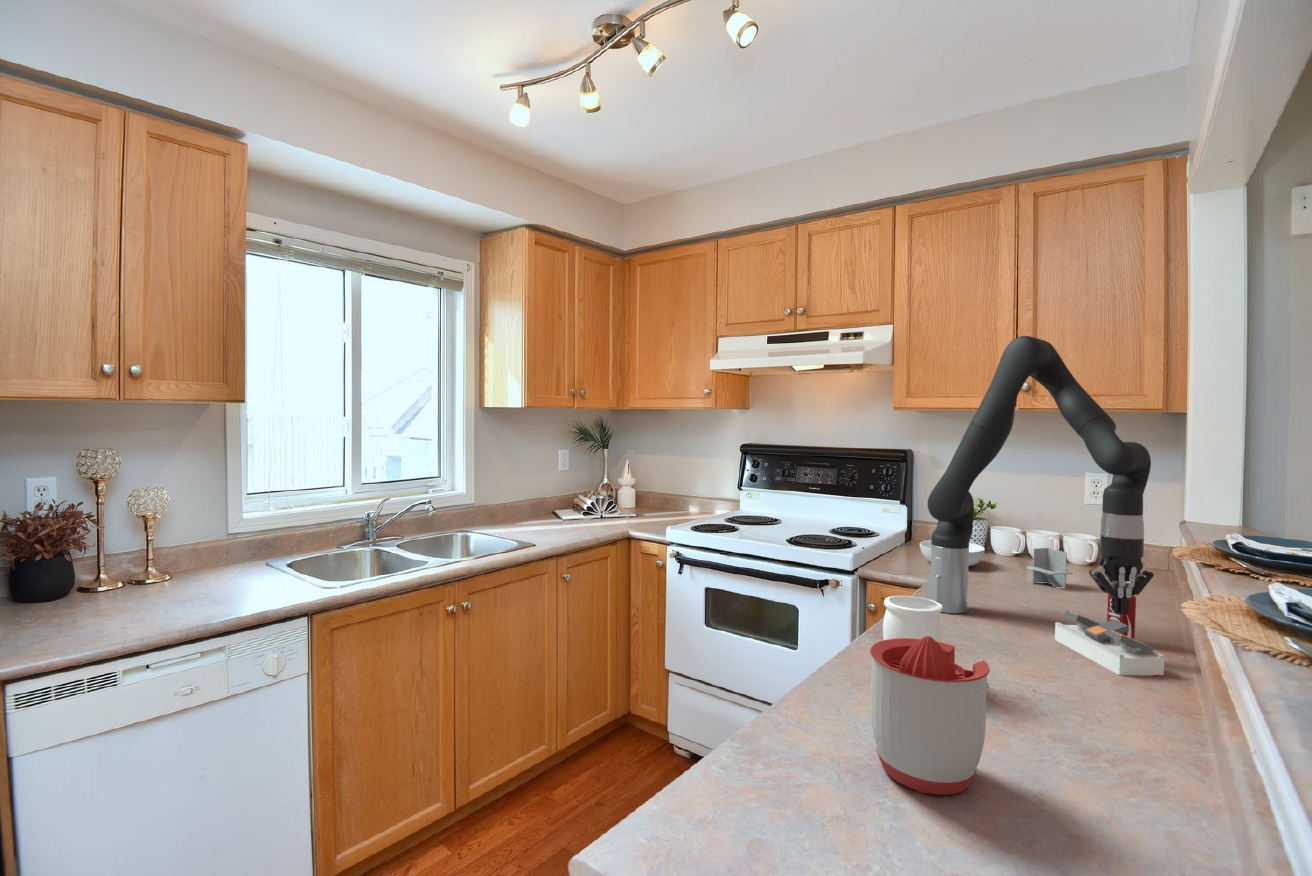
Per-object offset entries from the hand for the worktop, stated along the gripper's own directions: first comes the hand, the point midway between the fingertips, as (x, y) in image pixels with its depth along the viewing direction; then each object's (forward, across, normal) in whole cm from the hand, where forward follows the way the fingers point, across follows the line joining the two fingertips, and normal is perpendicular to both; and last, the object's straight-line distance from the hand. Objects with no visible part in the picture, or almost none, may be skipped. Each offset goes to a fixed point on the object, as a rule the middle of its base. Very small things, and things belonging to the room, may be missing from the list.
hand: (1120, 613), depth 135 cm
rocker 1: (+4, +3, -7) cm, 8 cm away
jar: (+9, +50, +12) cm, 53 cm away
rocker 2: (+4, +3, +6) cm, 8 cm away
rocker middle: (+4, +3, 0) cm, 5 cm away
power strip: (+9, +3, -3) cm, 10 cm away
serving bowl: (+9, -5, -85) cm, 86 cm away
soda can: (+10, -7, -9) cm, 15 cm away
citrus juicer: (+10, +62, +45) cm, 77 cm away
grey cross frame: (+10, -22, -57) cm, 62 cm away
